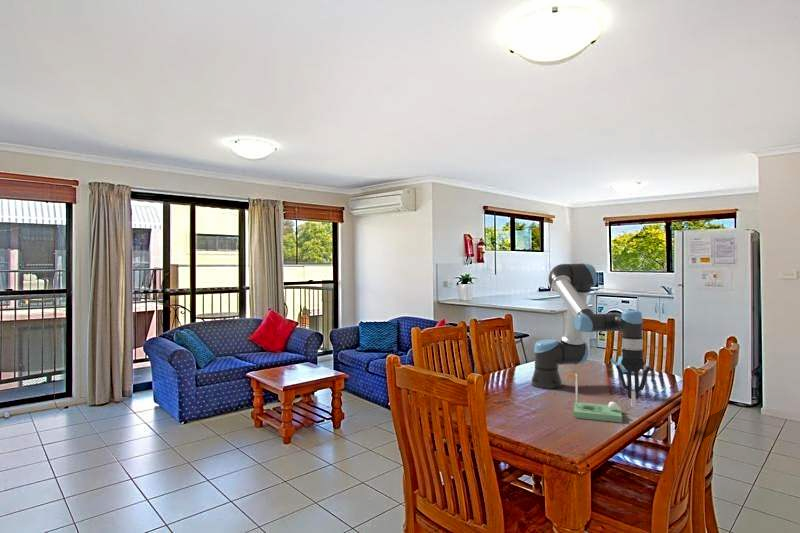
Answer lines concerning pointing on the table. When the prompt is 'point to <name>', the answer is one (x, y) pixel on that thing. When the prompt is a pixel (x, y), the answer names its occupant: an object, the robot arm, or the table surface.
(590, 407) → the green
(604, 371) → the table surface
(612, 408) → the ball
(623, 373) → the teapot
